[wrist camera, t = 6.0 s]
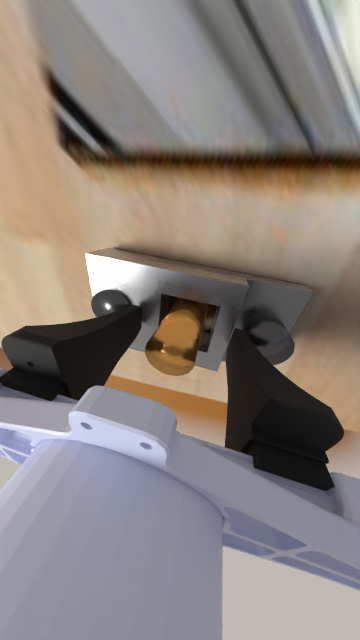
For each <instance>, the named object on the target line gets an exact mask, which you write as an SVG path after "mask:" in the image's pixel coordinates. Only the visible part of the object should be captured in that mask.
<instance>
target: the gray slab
mask: <svg viewBox="0 0 360 640" xmlns="http://www.w3.org/2000/svg"><path fill="white" fill-rule="evenodd" d="M86 260H87V266H88V272H89V278H90V285H91V291H92V297H93V298H92V302H91V305H92V309H93V312H94V314H95V316H96V318H97V317H100V316H103V315H107V314H110V313H113V312H115V311H118V310H121V309H124V308H126V307H129V306H132V305H137V306H141V307H142V328H141V330H140V332H139V334H138V335H137V337H136V339H135V340H134V341H133V343H132V344H131V345H130V347H129V348H131V349H135V350H139V351H142V352H145V347H146V344H147V342H148V341H149V339H150V338H151V337H152V335H153V334H154V332H155V331H156V329H157V328H158V327H159V325H160V324H161V322H162V321H163V319H164V318H165V317H166V315H167V314H168V311H169V302H170V296H175V297H179V298H184V299H189V300H193V301H198V302H202V303H207V304H212V305H216V306H217V309H216V312H215V316H214V320H213V323H212V327H211V330H210V333H208V332H204V331H203V333H202V337H201V341H200V345H199V349H198V353H197V357H196V361H195V366H199V367H203V368H206V369H210V370H214V371H218V368H219V365H220V363H221V361H225V362H226V353H227V347H228V345H229V342H230V339H231V337H232V334H233V331H234V329H235V328H236V329H241V330H244V332H245V333H246V334H247V336H248V337H249V338H250V340H251V341H252V342H253V344H254V345H255V346H256V347H257V349H258V350H259V351H260V352H261V353H262V355H263V356H264V357H265V358H266V359H267V360H268V361H269V362H270V363H271V364H272V365H276V364H279V363H282V362H284V361H286V360H287V359H288V358H289V357H290V356H291V355H292V354H293V352H294V348H295V347H294V342H293V340H292V338H291V336H290V335H289V333H290V331H291V329H292V328H293V326H294V324H295V323H296V321H297V319H298V318H299V316H300V314H301V313H302V311H303V309H304V308H305V306H306V304H307V303H308V301H309V299H310V298H311V296H312V294H313V293H314V292H313V291H311V290H310V289H309V288H308V287H306V286H305V285H301V284H296V283H291V282H285V281H280V280H275V279H270V278H264V277H259V276H254V275H249V274H243V273H238V272H233V271H228V270H223V269H217V268H212V267H207V266H202V265H196V264H191V263H186V262H181V261H176V260H170V259H165V258H160V257H155V256H149V255H144V254H139V253H134V252H128V251H123V250H118V249H113V248H107V249H103V250H98V251H94V252H89V253H86Z"/></svg>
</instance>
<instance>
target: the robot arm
mask: <svg viewBox="0 0 360 640" xmlns="http://www.w3.org/2000/svg"><path fill="white" fill-rule="evenodd" d="M141 328H142V307H141V306H137V305H132V306H129V307H126V308H124V309H121V310H118V311H115V312H113V313H110V314H107V315H103V316H100V317H97V318H93V319H89V320H84V321H78V322H73V323H66V324H56V325H40V326H25V327H23V328H21V329H19V330H17V331H15V332H13V333H11V334H9V335H7V336H6V337H4V338H3V340H2V348H3V350H4V352H5V354H6V355H7V357H8V359H9V360H10V362H11V364H12V366H13V367H14V368H12V369H11V370H10V371H8V372H7V371H6V370H5V369H3V368H0V455H1V456H3V457H5V458H7V459H9V460H11V461H13V462H15V463H17V464H20V465H21V466H20V468H19V469H18V470H17V471H16V472H15V473H14V475H13V476H12V477H11V478H10V479H9V481H8V482H7V483H6V484H5V485H4V487H3V488H2V489H1V490H0V640H222V546H225V547H229V548H232V549H235V550H238V551H241V552H244V553H248V554H251V555H254V556H257V557H260V558H263V559H267V560H270V561H273V562H276V563H280V564H283V565H286V566H289V567H292V568H295V569H298V570H301V571H304V572H307V573H310V574H313V575H316V576H320V577H322V578H325V579H328V580H331V581H334V582H336V583H339V584H342V585H345V586H347V587H350V588H353V589H355V590H358V591H360V479H357V478H353V477H350V476H347V475H344V474H341V473H329V472H328V469H327V467H326V464H327V463H328V462H329V460H328V458H327V455H326V453H325V451H327V450H328V449H330V448H331V447H332V446H334V445H335V444H337V443H338V442H339V441H340V440H341V439H342V438H343V435H344V430H343V427H342V425H341V424H340V422H339V420H338V418H337V417H336V415H335V413H334V412H333V410H332V408H330V407H329V406H327V405H326V404H324V403H322V402H321V401H319V400H318V399H316V398H314V397H313V396H311V395H310V394H308V393H307V392H305V391H304V390H303V389H301V388H300V387H298V386H297V385H296V384H294V383H293V382H292V381H290V380H289V379H288V378H287V377H285V376H284V375H283V374H282V373H281V372H280V371H278V370H277V369H276V368H275V367H274V366H273V365H272V364H271V363H270V362H269V361H268V360H267V359H266V358H265V357H264V356H263V355H262V353H261V352H260V351H259V350H258V349H257V347H256V346H255V345H254V344H253V342H252V341H251V340H250V338H249V337H248V336H247V334H246V333H245V332H244V330H241V329H236V328H235V329H234V331H233V334H232V337H231V339H230V342H229V345H228V347H227V353H226V369H227V383H228V408H227V427H226V438H225V447H221V446H219V445H215V444H212V443H209V442H206V441H203V440H200V439H196V438H193V437H190V436H187V435H184V434H181V433H179V432H177V431H176V426H177V420H176V415H175V414H174V413H173V412H172V411H171V410H170V409H169V408H168V407H167V406H165V405H163V404H161V403H159V402H157V401H154V400H150V399H147V398H144V397H140V396H137V395H134V394H130V393H127V392H124V391H120V390H117V389H114V388H110V387H106V386H104V385H105V383H106V381H107V379H108V377H109V376H110V374H111V372H112V371H113V369H114V367H115V366H116V364H117V363H118V361H119V360H120V358H121V357H122V356H123V354H124V353H125V352H126V350H127V349H128V348H129V347H130V345H131V344H132V343H133V341H134V340H135V339H136V337H137V335H138V334H139V332H140V330H141ZM325 463H326V464H325Z"/></svg>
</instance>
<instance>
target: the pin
mask: <svg viewBox="0 0 360 640" xmlns="http://www.w3.org/2000/svg"><path fill="white" fill-rule="evenodd" d="M207 312H208V304H207V303H202V302H198V301H193V300H189V299H184V298H178V299H177V301H176V302H175V304H174V305H173V307H172V308H171V309H170V311H169V312H168V314H167V315H166V317H165V318H164V319H163V321H162V322H161V324H160V325H159V327H158V328H157V329H156V331H155V332H154V334H153V335H152V337H151V338H150V339H149V341H148V342H147V344H146V347H145V354H146V357H147V359H148V361H149V362H150V364H151V365H152V366H153V367H154V368H156V369H157V370H159V371H160V372H162V373H165V374H168V375H173V376H180V375H184V374H187V373H188V372H190V371H191V370H192V369H193V367H194V365H195V361H196V357H197V353H198V349H199V345H200V341H201V337H202V333H203V329H204V324H205V320H206V316H207Z"/></svg>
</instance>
